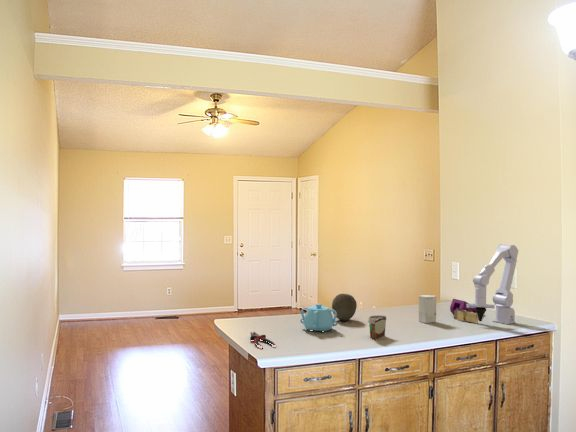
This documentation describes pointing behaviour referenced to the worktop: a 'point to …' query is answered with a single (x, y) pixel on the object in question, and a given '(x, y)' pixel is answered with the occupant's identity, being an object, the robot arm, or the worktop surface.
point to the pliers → (255, 337)
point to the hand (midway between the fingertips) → (480, 320)
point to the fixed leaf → (456, 313)
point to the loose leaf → (467, 316)
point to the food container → (377, 326)
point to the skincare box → (427, 308)
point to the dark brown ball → (344, 306)
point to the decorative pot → (318, 318)
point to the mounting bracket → (460, 306)
